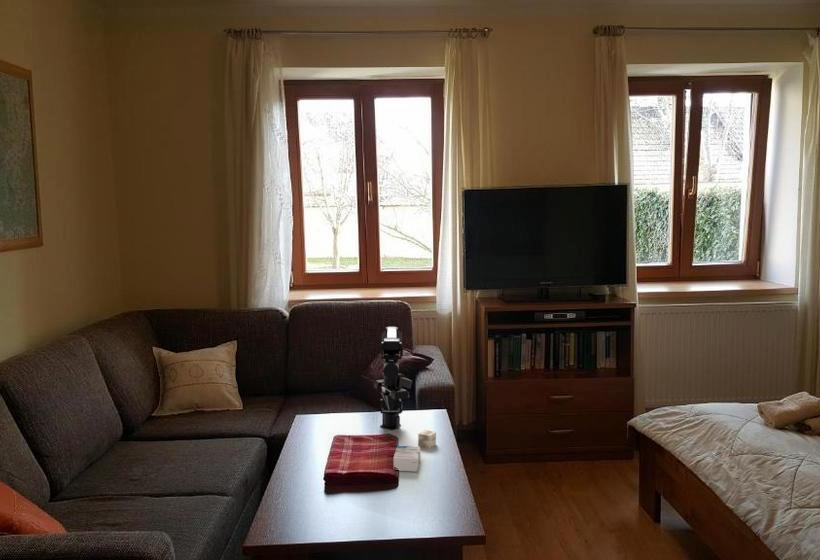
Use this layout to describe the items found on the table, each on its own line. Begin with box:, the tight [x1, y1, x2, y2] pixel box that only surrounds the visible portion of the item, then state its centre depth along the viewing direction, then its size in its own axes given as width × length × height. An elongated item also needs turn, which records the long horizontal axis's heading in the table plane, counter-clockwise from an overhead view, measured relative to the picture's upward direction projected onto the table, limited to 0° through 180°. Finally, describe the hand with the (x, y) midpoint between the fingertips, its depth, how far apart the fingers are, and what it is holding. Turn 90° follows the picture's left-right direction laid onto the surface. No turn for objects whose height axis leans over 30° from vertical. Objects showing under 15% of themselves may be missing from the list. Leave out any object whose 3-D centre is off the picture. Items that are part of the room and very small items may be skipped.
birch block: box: [417, 429, 437, 449], centre depth 241 cm, size 5×5×5 cm
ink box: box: [392, 445, 422, 473], centre depth 222 cm, size 9×5×12 cm
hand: (390, 410), depth 244 cm, fingers closed
